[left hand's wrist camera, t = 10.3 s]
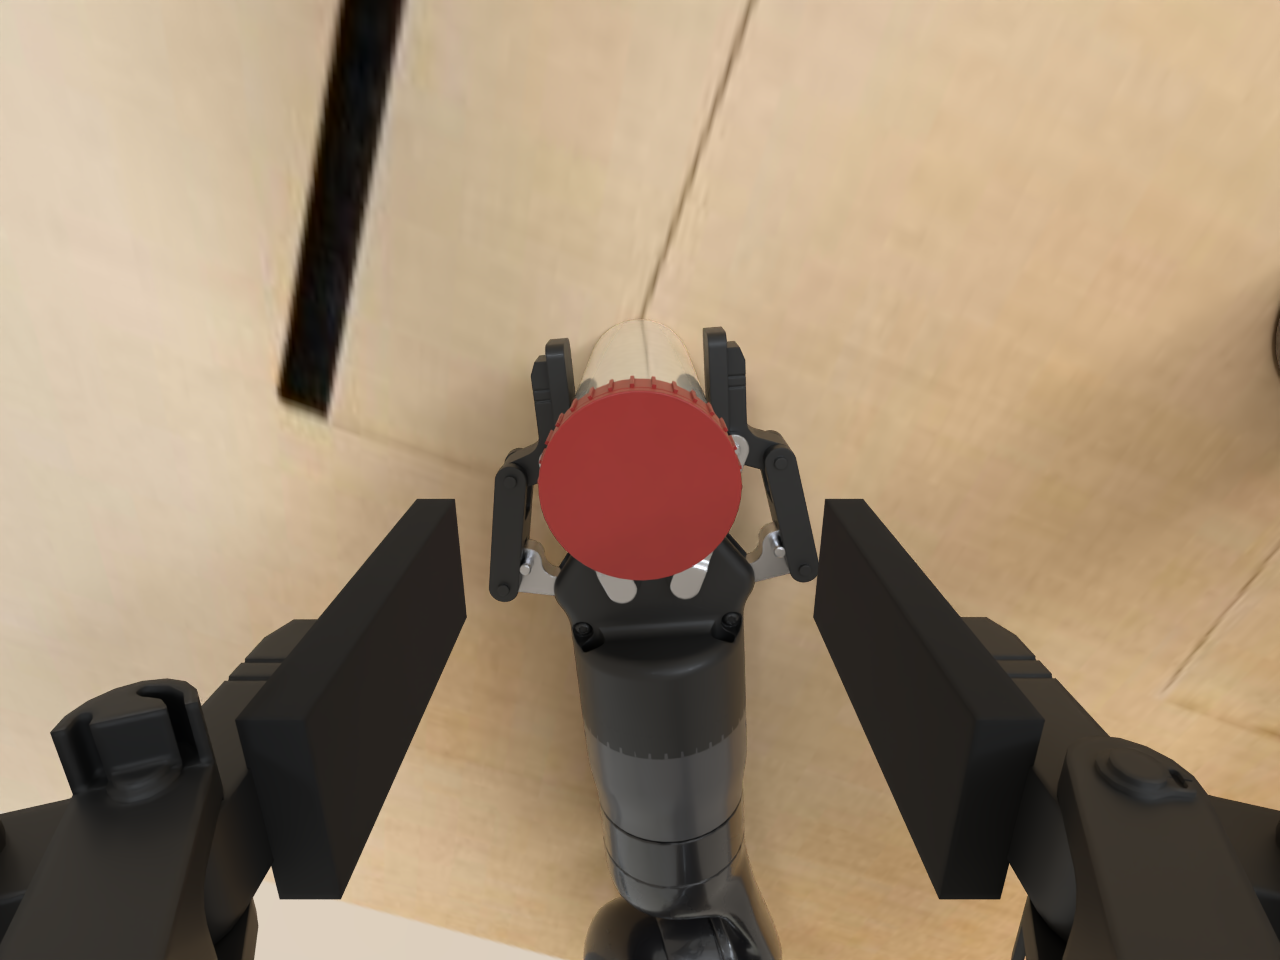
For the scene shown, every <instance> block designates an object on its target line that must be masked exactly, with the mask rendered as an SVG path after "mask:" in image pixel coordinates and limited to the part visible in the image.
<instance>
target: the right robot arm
mask: <svg viewBox="0 0 1280 960" xmlns="http://www.w3.org/2000/svg"><path fill="white" fill-rule="evenodd" d="M703 349H704V371H705V394H706V400H707V403H708V402H709V403H710V404H711V406H712V408H713V411H714V413H715V414H716V415H717V417H718V418H719V419H720V418H721V417H722V418H723V420H724V422H725V424H726V427H727V429H728V431H727V434H728V436H729V435H732V438H733V440H734V442H735V444H736V447H737V450H735V453H736V454H737V456H738V459H739V461H740V463H741V466H742V469H743V466H744V465H747V466H750V467H754V468H758V469H761V474H762V478H763V482H764V486H765V490H766V495H767V499H768V503H769V507H770V511H771V516H772V520H773V522H772V523H769V524H766V525H765V526H763V527H762V529H761V530H760V532H759V544H758V546H757V548H756V549H755V550H754V551H753V552H751V553H748V554H747V553H746V552H745V551H744V550H743V549H742V548H741V546H740V545H739V544H738V543H737V542H736V541H735V540H734V538H733V537H732V536H731V535H730V534H729V533H728V534H727V535H726V536H725V538H724V539H723V541H722V542H721V543H720V544H719V545H718V547H717V548H716V549H715V550H714V551H713V552H712V553H711V554H709V555H708V556H707V557H706V558H705V559H703V560H702V561H701V562H699V563H697V564H696V565H694V566H693V567H691V568H689V569H687V570H685V571H683V572H680V573H678V574H675V575H672V576H669V577H664V578H660V579H653V580H627V579H620V578H616V577H612V576H608V575H605V574H602V573H600V572H597V571H595V570H593V569H591V568H589V567H587V566H585V565H584V564H582V563H581V562H580V561H578V560H577V559H575V558H574V557H573V556H572V555H571V554H569V553H567V555H566V556H565V558H564V560H563V561H562V563H561V564H560V566H559V567H556V566H553V565H551V564H550V563H549V562H548V561H547V559H546V557H545V551H544V548H543V546H542V545H541V544H540V543H539V542H537V541H535V540H530V539H529V535H530V522H531V509H532V496H533V485H534V484H537V480H538V477H539V470H540V466H541V464H539V460H540V458H541V455H542V453H543V451H544V449H545V448H547V446H548V445H546V444H545V442H546V440H547V438H548V435H549V433H550V431H551V430H553V431H554V429H555V428H556V426H555V425H556V422H557V420H558V418H559V415H560V414H561V413H563V414H565V413H566V412H567V410H568V409H569V408H570V407H571V405H572V402H573V400H574V398H575V386H574V377H573V368H572V359H571V350H570V343H569V339H568V338H562V339H550V340H549V342H548V343H547V344H546V348H545V354H546V355H541V356H539V357H538V358H537V360H536V361H535V362H534V366H533V370H532V373H531V381H532V388H533V396H534V401H535V411H536V418H537V426H538V433H539V441H537V442H536V443H534V444H533V445H530V446H528V447H526V448H524V449H523V448H516V449H514V450H512V451H511V452H510V453H509V454H508V456H507V457H506V459H505V463H504V465H503V466H502V467H501V468H500V469H499V471H498V473H497V475H496V477H495V490H494V508H493V526H492V544H491V562H490V580H489V591H490V594H491V595H492V596H493V598H495V599H496V600H498V601H501V602H508V601H511V600H513V599H514V598H515V597H516V596H517V594H518V592H527V593H536V594H545V595H554V596H555V598H556V600H557V602H558V604H559V605H560V606H561V607H562V608H563V610H564V611H565V612H566V614H567V616H568V618H569V620H570V624H571V630H572V637H573V645H574V653H575V660H576V668H577V676H578V683H579V691H580V699H581V707H582V715H583V723H584V730H585V738H586V745H587V753H588V759H589V764H590V768H591V771H592V775H593V778H594V781H595V784H596V787H597V791H598V797H599V804H600V812H601V820H602V828H603V835H604V845H605V853H606V859H607V864H608V868H609V872H610V875H611V878H612V881H613V883H614V885H615V887H616V889H617V890H618V892H619V893H620V895H621V897H619V898H616V899H614V900H612V901H610V902H609V903H607V904H605V905H604V906H603V907H601V909H600V910H599V911H598V912H597V914H596V915H595V916H594V918H593V920H592V922H591V924H590V927H589V929H588V933H587V936H586V940H585V945H584V960H782V950H781V945H780V940H779V937H778V934H777V931H776V928H775V925H774V922H773V919H772V917H771V914H770V912H769V910H768V908H767V905H766V903H765V901H764V899H763V897H762V895H761V892H760V890H759V888H758V886H757V883H756V881H755V878H754V875H753V872H752V869H751V865H750V861H749V857H748V854H747V849H746V844H745V837H744V807H743V775H744V768H745V762H746V751H747V729H746V693H745V657H744V622H743V611H744V606H745V603H746V600H747V598H748V596H749V595H750V593H751V591H752V590H753V587H754V583H755V582H757V581H761V580H765V579H769V578H773V577H777V576H781V575H785V574H789V573H790V574H791V576H792V577H793V578H794V579H795V580H796V581H799V582H808V581H811V580H813V579H814V578H815V577H816V576H817V575H818V566H819V562H818V557H817V553H816V548H815V544H814V539H813V534H812V530H811V525H810V521H809V516H808V511H807V507H806V502H805V498H804V493H803V489H802V484H801V479H800V475H799V470H798V466H797V461H796V457H795V455H794V453H793V452H792V450H791V449H790V447H789V446H788V445H787V443H786V442H785V440H784V439H783V437H782V436H781V435H780V434H779V433H778V432H776V431H772V430H768V431H763V430H759V429H756V428H753V427H751V426H749V425H748V424H747V415H746V377H745V374H746V373H745V359H744V356H743V354H742V352H741V349H740V347H739V346H738V345H737V344H736V342H735V341H730V342H727V339H726V333H725V331H724V329H723V328H722V327H711V328H703ZM1276 355H1277V361H1278V365H1279V369H1280V319H1279V323H1278V328H1277V334H1276ZM742 469H740V471H742Z"/></svg>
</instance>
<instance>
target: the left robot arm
mask: <svg viewBox="0 0 1280 960" xmlns="http://www.w3.org/2000/svg"><path fill="white" fill-rule="evenodd" d="M466 618H467V615H466V605H465V596H464V586H463V576H462V566H461V556H460V546H459V536H458V526H457V516H456V506H455V499H417V500H416V501H415V502H414V503H413V504H412V506H411V507H410V508H409V509H408V511H407V512H406V513H405V514H404V515H403V517H402V518H401V519H400V520H399V521H398V523H397V524H396V525H395V526H394V528H393V529H392V530H391V531H390V532H389V534H388V535H387V536H386V537H385V538H384V540H383V541H382V542H381V543H380V544H379V546H378V547H377V548H376V549H375V551H374V552H373V553H372V554H371V555H370V557H369V558H368V559H367V560H366V561H365V563H364V564H363V565H362V566H361V568H360V569H359V570H358V571H357V572H356V574H355V575H354V576H353V577H352V578H351V580H350V581H349V582H348V583H347V584H346V586H345V587H344V588H343V589H342V591H341V592H340V593H339V594H338V595H337V597H336V598H335V599H334V600H333V601H332V603H331V604H330V605H329V606H328V608H327V609H326V610H325V611H324V612H323V614H322V615H321V616H320V617H319V618H318V620H292V621H291V622H289V623H287V624H286V625H284V626H283V627H281V628H279V629H278V630H276V631H274V632H273V633H271V634H270V635H268V636H266V637H265V638H264V639H263V640H262V641H261V642H260V643H259V644H258V645H257V646H256V647H255V649H254V650H253V651H252V652H251V653H250V654H249V655H248V656H247V657H246V658H245V663H241V664H240V665H239V666H238V667H237V668H236V669H235V670H234V671H233V672H232V674H231V675H230V676H229V680H228V681H224V682H223V683H222V684H221V686H220V687H219V688H218V689H217V690H216V691H215V692H214V693H213V694H212V695H211V696H210V698H209V699H208V700H207V701H206V702H205V703H204V704H203V705H202V706H201V703H200V700H199V696H198V692H197V689H196V688H194V687H193V686H192V685H190V684H189V683H188V682H186V681H180V680H174V679H157V680H147V681H141V682H137V683H134V684H130V685H126V686H123V687H119V688H116V689H113V690H111V691H109V692H107V693H104V694H102V695H100V696H98V697H95V698H93V699H91V700H89V701H87V702H85V703H84V704H82V705H81V706H79V707H78V708H76V709H75V710H73V711H72V712H70V713H69V714H67V715H66V716H65V717H64V718H63V719H62V720H61V721H60V722H59V723H58V724H57V726H56V727H55V728H54V729H53V730H52V731H51V732H50V734H51V736H52V739H53V742H54V744H55V747H56V750H57V753H58V755H59V758H60V761H61V763H62V766H63V769H64V772H65V774H66V777H67V780H68V782H69V785H70V788H71V791H72V793H73V796H72V798H70V799H66V800H62V801H57V802H53V803H48V804H44V805H39V806H35V807H30V808H26V809H21V810H17V811H12V812H8V813H3V814H0V960H254V955H255V948H256V940H257V932H258V920H257V913H256V908H255V904H254V900H253V896H254V894H255V893H256V891H257V889H258V888H259V886H260V884H261V882H262V881H263V879H264V877H265V875H266V874H267V872H268V870H269V869H270V867H271V866H272V870H273V874H274V878H275V882H276V886H277V890H278V894H279V898H280V899H341V898H342V895H343V893H344V891H345V889H346V886H347V884H348V882H349V880H350V878H351V875H352V873H353V871H354V869H355V866H356V864H357V862H358V860H359V857H360V855H361V853H362V851H363V848H364V846H365V844H366V842H367V839H368V837H369V835H370V833H371V830H372V828H373V826H374V824H375V821H376V819H377V817H378V815H379V813H380V810H381V808H382V806H383V804H384V801H385V799H386V797H387V795H388V792H389V790H390V788H391V786H392V783H393V781H394V779H395V777H396V774H397V772H398V770H399V768H400V765H401V763H402V761H403V759H404V756H405V754H406V752H407V750H408V748H409V745H410V743H411V741H412V739H413V736H414V734H415V732H416V730H417V727H418V725H419V723H420V721H421V718H422V716H423V714H424V712H425V709H426V707H427V705H428V703H429V700H430V698H431V696H432V694H433V691H434V689H435V687H436V685H437V683H438V680H439V678H440V676H441V674H442V671H443V669H444V667H445V665H446V662H447V660H448V658H449V656H450V653H451V651H452V649H453V647H454V644H455V642H456V640H457V638H458V635H459V633H460V631H461V629H462V626H463V624H464V622H465V620H466ZM813 618H814V620H815V622H816V624H817V626H818V629H819V631H820V633H821V635H822V638H823V640H824V642H825V644H826V647H827V649H828V651H829V653H830V656H831V658H832V660H833V662H834V665H835V667H836V669H837V671H838V674H839V676H840V678H841V680H842V683H843V685H844V687H845V689H846V691H847V694H848V696H849V698H850V700H851V703H852V705H853V707H854V709H855V712H856V714H857V716H858V718H859V721H860V723H861V725H862V727H863V730H864V732H865V734H866V736H867V739H868V741H869V743H870V745H871V748H872V750H873V752H874V754H875V756H876V759H877V761H878V763H879V765H880V768H881V770H882V772H883V774H884V777H885V779H886V781H887V783H888V786H889V788H890V790H891V792H892V795H893V797H894V799H895V801H896V804H897V806H898V808H899V810H900V813H901V815H902V817H903V819H904V821H905V824H906V826H907V828H908V830H909V833H910V835H911V837H912V839H913V842H914V844H915V846H916V848H917V851H918V853H919V855H920V857H921V860H922V862H923V864H924V866H925V869H926V871H927V873H928V875H929V878H930V880H931V882H932V884H933V886H934V889H935V891H936V893H937V895H938V898H939V899H1000V898H1001V894H1002V890H1003V886H1004V882H1005V878H1006V874H1007V870H1008V866H1009V863H1010V865H1011V867H1012V868H1013V870H1014V872H1015V874H1016V875H1017V877H1018V879H1019V880H1020V882H1021V884H1022V886H1023V887H1024V889H1025V891H1026V892H1027V894H1028V896H1027V900H1026V904H1025V908H1024V911H1023V915H1022V919H1021V922H1020V926H1019V930H1018V934H1017V937H1016V941H1015V945H1014V948H1013V952H1012V958H1011V960H1024V958H1025V956H1026V960H1280V811H1278V810H1273V809H1269V808H1264V807H1260V806H1255V805H1251V804H1246V803H1242V802H1237V801H1232V800H1228V799H1223V798H1219V797H1214V796H1211V795H1207V793H1206V792H1205V790H1204V789H1203V788H1202V786H1201V785H1200V784H1199V783H1198V781H1197V780H1196V779H1195V777H1194V776H1193V775H1191V774H1190V773H1189V772H1188V771H1186V770H1185V769H1184V768H1182V767H1181V766H1180V765H1179V764H1177V763H1176V762H1175V761H1173V760H1172V759H1170V758H1168V757H1166V756H1164V755H1162V754H1160V753H1158V752H1156V751H1154V750H1153V749H1151V748H1149V747H1147V746H1144V745H1140V744H1137V743H1134V742H1131V741H1128V740H1125V739H1122V738H1115V737H1110V736H1109V735H1108V734H1107V733H1106V732H1105V731H1104V730H1103V729H1102V728H1101V727H1100V726H1099V725H1098V723H1097V722H1096V721H1095V720H1094V719H1093V718H1092V717H1091V716H1090V715H1089V714H1088V713H1087V712H1086V710H1085V709H1084V708H1083V707H1082V706H1081V705H1080V704H1079V703H1078V702H1077V701H1076V700H1075V699H1074V697H1073V696H1072V695H1071V694H1070V693H1069V692H1068V691H1067V690H1066V689H1065V688H1064V687H1063V686H1062V684H1061V683H1060V682H1059V681H1058V680H1057V679H1056V678H1052V674H1051V673H1050V672H1049V670H1048V669H1047V668H1046V667H1045V666H1044V665H1043V664H1042V663H1041V662H1040V661H1039V660H1036V659H1035V655H1034V654H1033V653H1032V652H1031V651H1030V650H1029V649H1028V648H1027V647H1026V646H1025V644H1024V643H1023V642H1022V641H1021V640H1020V639H1019V638H1018V637H1017V636H1016V635H1015V634H1013V633H1011V632H1010V631H1008V630H1007V629H1005V628H1003V627H1002V626H1000V625H998V624H997V623H995V622H993V621H992V620H990V619H988V618H987V617H960V616H959V615H958V614H957V612H956V611H955V610H954V609H953V608H952V606H951V605H950V604H949V603H948V601H947V600H946V599H945V598H944V597H943V595H942V594H941V593H940V592H939V591H938V589H937V588H936V587H935V586H934V584H933V583H932V582H931V581H930V580H929V578H928V577H927V576H926V575H925V574H924V572H923V571H922V570H921V569H920V568H919V566H918V565H917V564H916V563H915V561H914V560H913V559H912V558H911V557H910V555H909V554H908V553H907V552H906V551H905V549H904V548H903V547H902V546H901V544H900V543H899V542H898V541H897V540H896V538H895V537H894V536H893V535H892V534H891V532H890V531H889V530H888V529H887V528H886V526H885V525H884V524H883V523H882V521H881V520H880V519H879V518H878V517H877V515H876V514H875V513H874V512H873V511H872V509H871V508H870V507H869V506H868V504H867V503H866V502H865V501H864V500H863V499H825V506H824V516H823V526H822V536H821V546H820V556H819V566H818V576H817V586H816V596H815V605H814V615H813Z"/></svg>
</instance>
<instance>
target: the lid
mask: <svg viewBox="0 0 1280 960" xmlns="http://www.w3.org/2000/svg"><path fill="white" fill-rule="evenodd" d="M555 426H556V428H555V429H554V431H553V430H551V431H550V433H549V435H548V438H547V440H546V442H545V444H546V445H548V446H547V448H545V449H544V451H543V453H542V455H541V458H540V460H539V464H541V466H540V470H539V477H538V480H537V483H538V488H539V499H540V505H541V509H542V512H543V515H544V518H545V520H546V522H547V524H548V526H549V529H550V530H551V532H552V533H553V535H554V536H555V538H556V539H557V541H558V542H559V543H560V544H561V545H562V547H563V548H564V549H565V550H566V551H567V552H568V553H569V554H571V555H572V556H573V557H574V558H575V559H577V560H578V561H580V562H581V563H582V564H584V565H585V566H587V567H589V568H591V569H593V570H595V571H597V572H600V573H602V574H605V575H608V576H612V577H616V578H620V579H627V580H653V579H660V578H664V577H669V576H672V575H675V574H678V573H680V572H683V571H685V570H687V569H689V568H691V567H693V566H694V565H696V564H697V563H699V562H701V561H702V560H703V559H705V558H706V557H707V556H708V555H709V554H711V553H712V552H713V551H714V550H715V549H716V548H717V547H718V545H719V544H720V543H721V542H722V541H723V539H724V538H725V536H726V535H727V534H728V532H729V530H730V528H731V526H732V524H733V523H734V520H735V517H736V515H737V512H738V509H739V504H740V499H741V489H742V482H741V471H740V469H742V466H741V463H740V461H739V459H738V456H737V454H736V453H735V450H737V447H736V444H735V442H734V440H733V438H732V435H729V436H728V434H727V431H728V429H727V427H726V424H725V422H724V420H723V418H722V417H721V418H720V419H719V418H718V417H717V415H716V414H715V413H714V411H713V408H712V406H711V404H710V403H709V402H708V403H707V404H706V403H705V402H703V401H702V400H701V399H700V398H698V397H697V396H696V393H695V391H694V390H691V391H690V392H689V391H687V390H686V389H684V388H681V387H679V386H677V383H676V382H675V381H672V384H671V383H668V382H664V381H660V380H656V377H655V376H652V378H651V379H636V378H634V376H630V379H626V380H620V381H616V382H614V380H613V379H611V380H609V384H606V385H603V386H601V387H598V388H596V389H595V388H594V387H592V388H590V390H589V393H587V394H586V395H584V396H583V397H582V398H580V399H579V400H577V399H576V398H575V399H574V400H573V402H572V405H571V407H570V408H569V409H568V410H567V412H566V413H565V414H563V413H561V414H560V415H559V418H558V420H557V422H556V425H555Z"/></svg>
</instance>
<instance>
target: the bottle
mask: <svg viewBox="0 0 1280 960" xmlns="http://www.w3.org/2000/svg"><path fill="white" fill-rule="evenodd" d="M630 376H634V378H636V379H651V378H652V376H655V377H656V380H660V381H664V382H668V383H671V384H672V381H675V382H676V383H677V386H679V387H681V388H684V389H686V390H687V391H689V392H690V391H691V390H694V391H695V393H696V396H697V397H698V398H700V399H701V400H702V401H703V402H705V403H706V404H707V400H706V398H705V395H704V393H703V390H702V388H701V385H700V382H699V380H698V377H697V375H696V372H695V369H694V367H693V364H692V362H691V359H690V357H689V354H688V351H687V349H686V347H685V345H684V343H683V342H682V340H681V339H680V338H679V337H678V336H677V334H676V333H675V332H673V331H672V330H671V329H670V328H668V327H666V326H665V325H663V324H661V323H658V322H655V321H652V320H646V319H634V320H628V321H625V322H622V323H619V324H617V325H615V326H614V327H612V328H610V329H609V330H608V331H607V332H605V333H604V334H603V335H602V336H601V338H600V339H599V340H598V342H597V343H596V345H595V347H594V349H593V351H592V354H591V356H590V359H589V362H588V364H587V367H586V369H585V372H584V375H583V377H582V380H581V382H580V385H579V387H578V390H577V393H576V395H575V398H576V399H577V400H579V399H580V398H582V397H583V396H584V395H586V394H587V393H589V390H590V388H592V387H594V388H595V389H596V388H598V387H601V386H603V385H606V384H609V380H611V379H613V380H614V382H616V381H620V380H626V379H630ZM575 398H574V399H575Z"/></svg>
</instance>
